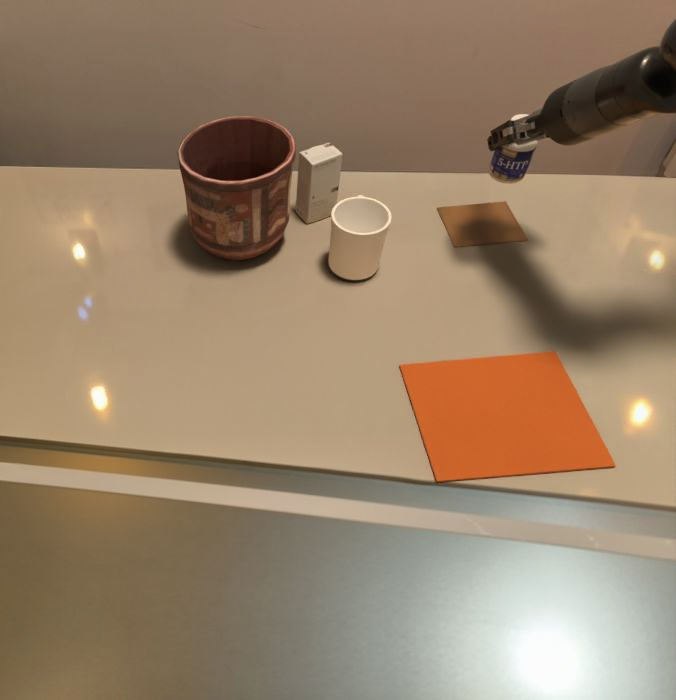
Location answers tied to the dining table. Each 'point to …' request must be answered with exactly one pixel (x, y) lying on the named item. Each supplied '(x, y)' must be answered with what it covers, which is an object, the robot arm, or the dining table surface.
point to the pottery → (237, 184)
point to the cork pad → (481, 224)
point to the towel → (502, 417)
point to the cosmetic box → (318, 182)
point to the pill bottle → (512, 160)
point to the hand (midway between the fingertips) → (509, 140)
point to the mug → (357, 237)
